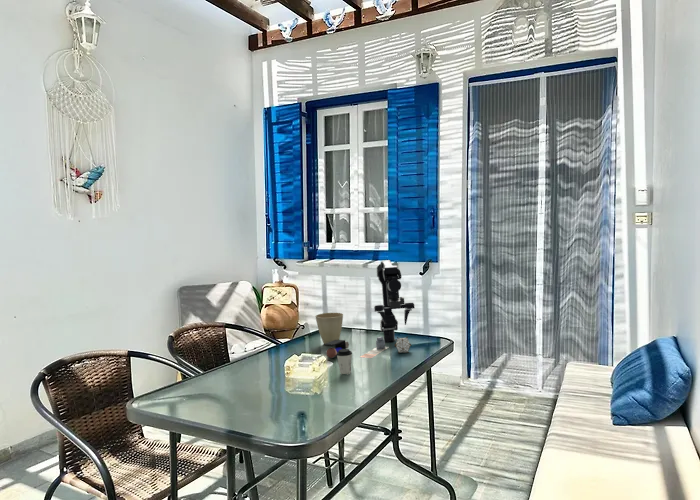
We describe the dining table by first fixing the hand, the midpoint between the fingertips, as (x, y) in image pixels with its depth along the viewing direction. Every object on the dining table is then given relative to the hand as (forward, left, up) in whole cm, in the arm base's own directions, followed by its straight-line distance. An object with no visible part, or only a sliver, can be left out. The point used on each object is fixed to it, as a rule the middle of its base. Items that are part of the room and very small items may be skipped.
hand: (395, 325), depth 236 cm
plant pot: (-13, -44, -15) cm, 49 cm away
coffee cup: (+30, -11, -15) cm, 36 cm away
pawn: (-10, -13, -14) cm, 22 cm away
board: (-3, -13, -15) cm, 20 cm away
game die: (-6, +1, -15) cm, 16 cm away
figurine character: (+5, -30, -15) cm, 34 cm away
